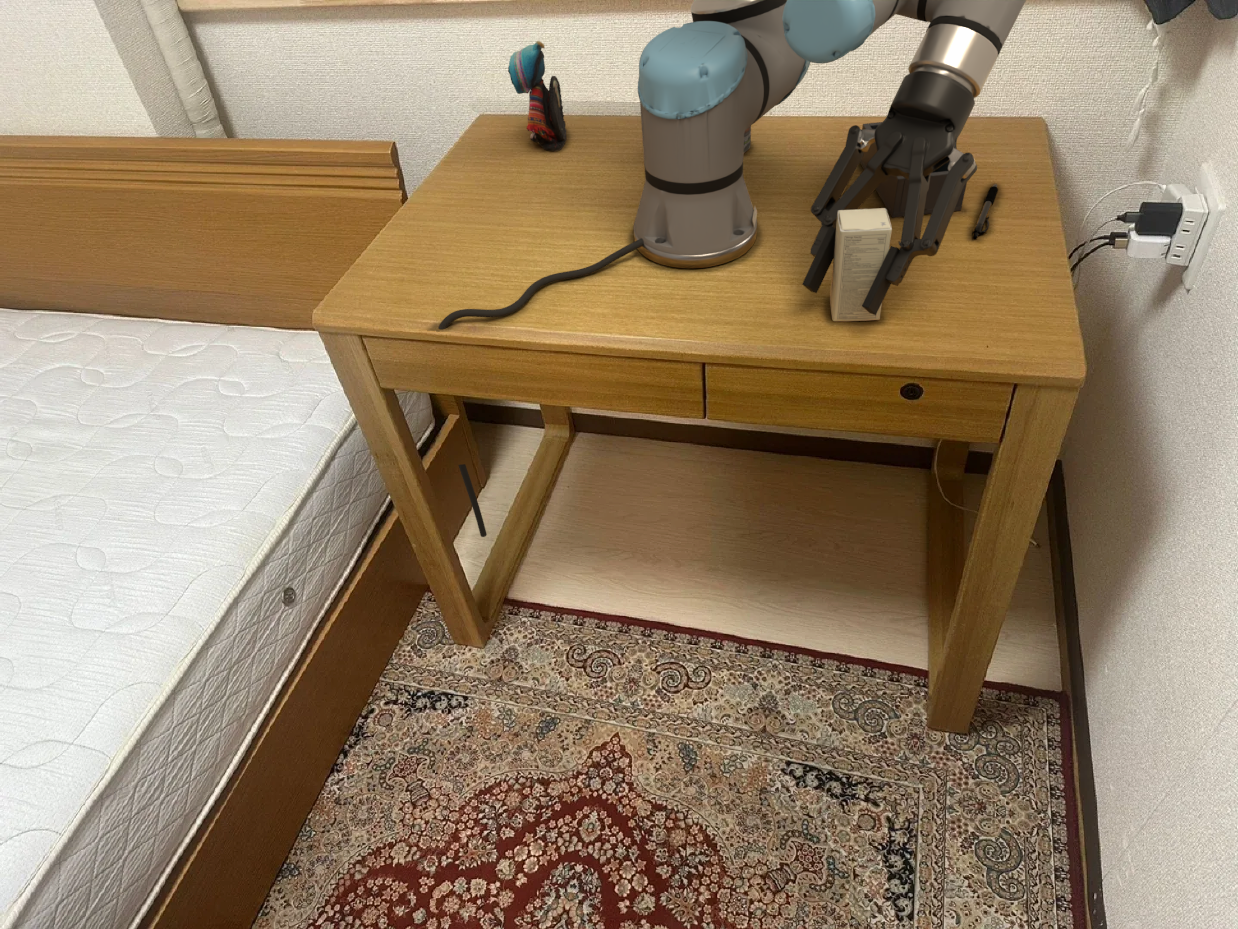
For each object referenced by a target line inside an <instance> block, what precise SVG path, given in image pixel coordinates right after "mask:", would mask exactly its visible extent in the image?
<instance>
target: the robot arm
mask: <svg viewBox="0 0 1238 929" xmlns="http://www.w3.org/2000/svg"><path fill="white" fill-rule="evenodd" d="M1026 1H1027V0H693V1H692V3H691V5H690V7H689V8H690V12H691V18H692V21H690V22H687V23H683V24H682V25H681V26H679V27H676V26H671V27H670V28H668V29H665V30H664V31H662V32H660V33H658V34H656V36H654V37H653V38H652V39H650V41H648V42H647V44H646V45H645V46H644V48H643V50H642V52H641V53H640V57H639V61H638V81H637V95H638V100H639V107H640V108H639V109H640V123H641V136H642V137H641V138H642V151H643V152H642V153H643V165H644V167H643V168H644V185H643V189H642V192H641V196H640V200H639V204H638V207H637V211H636V215H635V218H634V223H633V238H634V239H633V240H634V241H633V242H631V243H630V244H627V245H625V246H624V247H621V248H619V249H618V250H616V251H614V252H612V253H611V254H609V255H607V256H606V257H604V258H602V259H601V260H599V261H597V262H595V263H593V264H592V265H589V266H585V267H582V268H578V269H574V270H567V271H562V272H557V273H553V274H549V275H546V276H544V277H541V278H539V279H537V280H536V281H534V282H533V283H532V284H531V285H530V286H528V287H527V289H525V291H524V292H523V293H522V295H521V296H520V297H519V298H518V299H517V300H516V301H515V302H513V303H511V304H510V305H507V306H505V307H502V308H497V309H486V308H485V309H482V308H464V309H458V310H455V311H453V312H451V313H449V314H448V315H446V316H445V317H444V318H443V319H442V320H441V322H440V323H439V325H438V328H437V329H438V330H446V329H447V328H448V327H449V326H450V325H451V324H452V323H454V322H455V321H456V320H459V319H462V318H471V317H473V318H501V317H505V316H508V315H511V314H513V313H516V312H517V311H518V310H520V309H521V308H522V307H524V306H525V305H526V304H527V303H528V302H529V300H530V299H531V297H533V295H534V294H535V293H536V292H537V291H539V290H540V289H541V288H543V287H544V286H546V285H549V284H551V283H552V284H553V283H554V282H559V281H563V280H565V281H566V280H570V279H575V278H581V277H585V276H588V275H590V274H594V273H596V272H598V271H600V270H602V269H604V268H605V267H607V266H610V264H612V263H614V262H616V261H618V260H619V259H622V257H624V256H626V255H629V254H630V253H632V252H634V251H636V250H638V252H639V253H640V254H641V255H642V256H643V257H644V258H646V259H648V260H650V261H652V262H654V263H657V264H659V265H663V266H666V267H670V268H671V267H672V268H677V269H702V268H710V267H716V266H720V265H723V264H727V263H729V262H732V261H734V260H737V259H738V258H740V257H741V256H743V255H745V254H746V253H747V252H749V250H751V248H752V247H753V246H754V244H755V243H756V240H757V236H758V235H757V234H758V219H757V216H758V210H757V207H756V206H754V205H753V203H752V199H751V195H750V194H749V190H748V187H747V184H746V180H745V179H744V154H745V153H744V132H745V130H746V129H748V128H749V127H750V126H751V127H752V126H753V125H754V124H755V123H756V122H758V121H759V120H760V119H761V118H762V117H763V116H765V115H766V114H767V113H769V111H771V110H772V109H773V108H774V107H776V106H778V105H780V104H782V103H783V102H784V101H785V100H787V99H788V98H789V97H790V96H791V95H792V94H793V92H794V91H795V90H796V88H797V87H798V86H799V85H800V83H801V82H802V81H803V79H804V77H805V76H806V75H807V73H808V70H809V68H810V65H811V63H812V64H829V63H833V62H835V61H837V60H839V59H841V58H843V57H845V56H846V55H848V54H849V53H850V52H854V51H856V50H858V49H859V48H860V47H861V46H863V44H864V43H865V42H866V40H867V39H868V38H869V37H870V36H871V35H873V33H875V32H876V31H877V30H878V29H879V28H880V27H882V26H883V25H884V24H886V23H887V22H888V21H890V20H891V19H892V18H893V17H894V16H901V17H905V18H909V19H912V20H915V21H916V20H917V21H921V22H924V23H929V25H928V26H927V29H926V31H925V34H924V36H923V37H922V40H921V41H920V44H919V45H918V47H917V49H916V51H915V54H914V56H913V57H912V59H911V61H910V63H909V66H908V69H907V71H908V74H905V75H904V77H903V79H902V80H901V83H900V85H899V87H898V89H897V91H896V92H895V95H894V97H893V100H892V102H891V104H890V106H889V110H888V112H887V115H886V117H885V118H884V120H883V121H881V122H882V123H881V124H880V125H878V127H877V128H876V129H863V130H862V128H861V127H860V126H859V125H856V124H854V125H852V126H850V127H849V128H848V132H847V137H846V141H845V145H844V148H843V150H842V152H841V153H840V155H839V157H838V158H837V160H836V162H835V164H834V166H833V168H832V170H830V173H829V175H828V176H827V178H826V180H825V182H824V184H823V186H822V187H821V189H820V191H819V192H818V195H817V196H816V197H815V200H814V202H813V204H812V205H811V208H810V212H811V214H812V215H813V216H814V217H815V218H816V220H818V221H819V222H820V224H821V225H820V229H819V230H818V233H817V235H816V237H815V238H814V241H813V243H812V245H811V248H810V255H811V256H813V260H812V262H811V265H810V267H809V269H808V271H807V272H806V275H805V277H804V279H803V282H802V283H801V285H803V287H805V289H807V290H808V291H810V292H811V293H815V294H818V292H819V291H820V290H819V289H821V285H822V284H823V281H824V279H825V277H826V275H827V273H828V271H829V269H830V266H831V264H833V259H834V247H835V235H836V223H837V213H838V211H839V210H855V209H860V207H861V206H862V205H863V204H864V203H865V202H866V201H867V199H868V198H869V197H870V196H871V195H872V194H873V193H874V191H876V188H877V187H878V186H879V184H881V183H883V182H885V181H886V180H887V179H888V178H889V176H890V175H892V176H903V177H905V178H906V179H908V180H909V188H908V195H907V202H906V209H905V216H903V223H902V230H901V237H900V240H899V241H898V245H899V247H896V246H893V245H890V246H889V251H888V253H887V255H886V257H885V259H884V261H883V263H882V265H881V267H880V270H879V272H878V274H877V276H876V278H875V280H874V282H873V284H872V286H871V288H870V290H869V292H868V294H867V296H866V298H865V300H864V302H863V304H862V307H863V308H865V309H866V310H867V311H868V312H869V313H871V314H874V315H876V314H877V312H878V310H879V307H880V305H881V303H882V304H883V301H884V300H885V298H886V295H887V293H888V291H889V289H890V287H891V285H893V286H896V287H898V286H900V284H901V283H902V282H903V280H904V278H905V276H906V274H907V272H908V271H909V268H910V266H911V264H912V262H913V261H914V259H915V258H916V257H918V256H928V257H934V256H935V255H937V253H938V252H939V249H940V247H941V244H942V242H943V239H944V237H945V234H946V232H947V229H948V227H949V224H950V222H951V219H952V216H953V214H954V212H955V211H954V209H955V207H956V204H957V202H958V199H959V197H960V194H961V192H962V189H963V187H964V185H965V184H966V183H968V181H969V180H970V179H971V178H972V177H973V175H974V174H975V173H976V172H977V170H978V165H977V163H976V160H975V158H974V155H973V154H972V153H971V152H963V151H960V150H959V149H957V142H958V138H959V137H960V135H961V134H962V132H963V130H964V127H965V125H966V123H967V122H968V120H969V118H970V115H971V113H972V111H973V109H974V107H975V105H976V104H975V103H976V102H975V99H976V98H977V97H978V96H980V94H981V92H982V90H983V88H984V86H985V84H986V82H987V80H988V78H989V76H990V74H991V72H992V70H993V68H994V66H995V64H996V62H997V60H998V57H999V55H1000V53H1001V51H1002V49H1003V46H1004V45H1005V42H1006V41H1007V39H1008V37H1009V35H1010V33H1011V31H1012V29H1013V27H1014V25H1015V23H1016V21H1017V19H1018V17H1019V15H1020V13H1021V11H1022V9H1023V7H1024V5H1025V4H1026ZM874 142H876V148H877V152H876V154H875V155H874V156H873V157H872V158H871V159H870V160H869V162H868V163H867V166H866V168H865V170H864V169H863V171H862V172H860V174H859V175H858V177H857V178H856V179H855V180H853V182H852V183H851V185H850V186H849V187H848V188H847V186H848V185H849V183H850V181H851V179H852V177H853V176H854V174H855V173H856V170H857V168H858V167H859V165H860V161H861V159H862V157H863V153H864V152H867V151H868V150H869V147H870V145H871V144H872V143H874ZM949 160H950V163H949V165H948V170H949V173H948V174H947V176H946V179H945V181H944V184H943V186H942V189H941V191H940V194H939V196H938V199H937V201H936V204H935V206H934V209H933V211H932V214H930V217H929V219H928V221H927V224H926V227H925V229H924V232H923V234H922V228H923V221H924V216H925V214H924V208H925V201H926V194H927V191H928V189H929V183H930V176H931V173H932V172H933V171H935V170H936V169H938V168H939V167H941V166H942V165H943V164H945V163H946V162H948V161H949ZM966 185H967V184H966ZM846 188H847V189H846ZM921 235H922V237H921ZM458 469H459V472H460V474H461V477H462V479H463V480H462V481H463V483H464V486H465V490H466V491H467V495H468V498H469V501H470V504H471V507H472V510H473V513H474V517H475V520H476V524H477V528H478V531H479V535H480V537H481V538H485V537H487V535H488V534H487V529H486V526H485V522H484V519H483V515H482V512H481V508H480V505H479V502H478V499H477V496H476V495H477V494H476V492H475V489H474V486H473V484H472V480H471V477H470V474H469V471H468V468H467V465H466V463H464V464H463V463H462V464H458Z"/></svg>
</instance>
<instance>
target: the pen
mask: <svg viewBox="0 0 1238 929" xmlns="http://www.w3.org/2000/svg"><path fill="white" fill-rule="evenodd" d="M998 192H999V185H998V184H997V183H993V184H992V185H991V187H989V189H988V192H987V194H986V196H985V198H984V202H983V206H982V208H981V211H980V214H979V216H978V218H977V221H976V223H975V225H974V228H973V230H972V235H971V236H972V240H975V241H976V240H977V239H978V238H979V237H981V236H985V235H986V234H987V233H988V231H989V228H990V221H989V220H990V216H989V213H990V211H991V208H992V207H993V204H994V203H995V201H996V198H997V194H998ZM985 225H986V227H985V229H984V226H985Z"/></svg>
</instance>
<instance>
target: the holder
mask: <svg viewBox="0 0 1238 929" xmlns="http://www.w3.org/2000/svg"><path fill="white" fill-rule="evenodd" d="M882 122H883V121H878V122H870V123H863V124H862V127H861V130H863V129H876V128H877V127H878V125H880V124H881V123H882ZM876 152H877V148H876V142H874V143H872V144H871V145H870V147H869V150H868V151H867V152H864V153H863V157H862V159H861V161H860V163H859V165H861V167H862V169H863V171H864V170H865V168H866V166H867V163H868V162H869V160H870V159H871V158H872V157H873V156H874V155H875V154H876ZM949 163H950V160H949V161H948V162H946V163H945V164H943V165H942V166H941V167H939V168H938V169H936V170H935V171H933V172H932V173H931V176H930V183H929V189H928V191H927V194H926V201H925V208H924V215H931V214H932V211H933V209H934V206H935V204H936V201H937V199H938V196H939V194H940V191H941V189H942V186H943V184H944V181H945V179H946V176H947V174H948V173H949V170H948V165H949ZM967 183H968V182H967ZM967 183H966V184H965V185H964V187H963V189H962V192H961V194H960V197H959V199H958V202H957V204H956V207H955V209H954V212H960V211H961V212H962V209H963V208H962V207H963V203H964V198H965V193H966V188H967ZM908 188H909V180H908V179H906V178H905V177H903V176H892V175H890V176H889V178H888V179H887V180H886V181H885V182H883V183H881V184H879V186H878V187H877V188H876V189H875V191H876V192H877V194H878V196H879V198H880V199H881V201H882V203H883V205H884V206H885V208H886V209H887V212H888V214H890V216H891V218H901V217H903V218H904V216H905V209H906V202H907V195H908Z"/></svg>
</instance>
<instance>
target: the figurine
mask: <svg viewBox="0 0 1238 929" xmlns="http://www.w3.org/2000/svg"><path fill="white" fill-rule="evenodd" d="M542 49H545V44H544V43H543V42H542V41H541V40H537V41H536V42H535V43H533V44H529V45H526V46H525V47H523V48H521V49H520V50H517V51H514V52H513V53H512V54H511V56H510V58H509V62H508V67H507V72H508V74H509V78H510V81H511V84H512V85H513V88H514V90H515V92H516V94H518V95H521V94H522V95H523V94H529V95H528V99H529V102H528V103H529V104H528V115H527V126H526V129H525V130H527V131H528V132H531V133H530V136H529V137H530V138H529V139H530V141H532V142H533V143H537V144H538V145H539V146H540V147H542V149H543V150H545V151H547V152H559V151H561V150H562V149H563V148H564V147H565V145H566V142H567V128H566V125H567V124H566V121H565V119H564V118H565V115H564V110H563V109H564V107H563V99H562V92H561V91H562V90H561V85H560V84H561V83H560V81H559V79H558V78H557V76H556V75H552V76H550V79H549V80H550V81H549V86H548V87H547V86H546V85H545V82H544V80H545V79H543V77H544V75H545V72H546V65H545V54H544V52H543V51H542Z"/></svg>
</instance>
